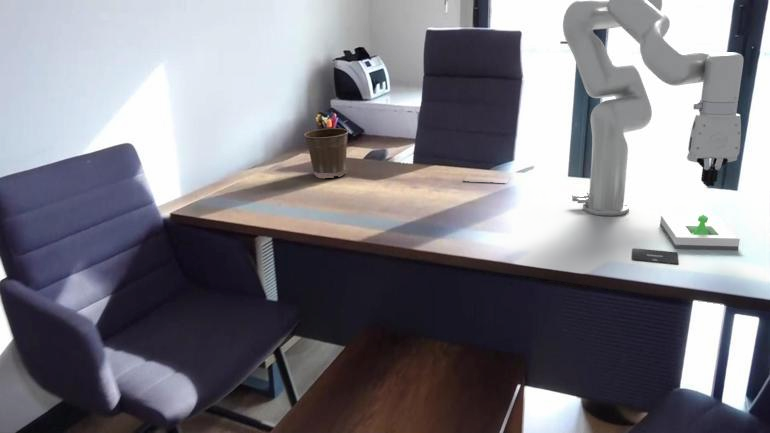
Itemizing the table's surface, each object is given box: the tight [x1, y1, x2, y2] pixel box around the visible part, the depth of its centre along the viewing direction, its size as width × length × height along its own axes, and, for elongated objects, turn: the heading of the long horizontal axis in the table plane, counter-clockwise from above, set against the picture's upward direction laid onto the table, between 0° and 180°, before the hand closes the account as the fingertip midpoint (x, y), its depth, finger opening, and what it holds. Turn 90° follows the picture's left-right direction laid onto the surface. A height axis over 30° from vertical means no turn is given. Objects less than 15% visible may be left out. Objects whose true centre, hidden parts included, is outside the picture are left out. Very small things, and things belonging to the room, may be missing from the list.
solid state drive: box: [631, 247, 680, 266], centre depth 144 cm, size 7×10×1 cm
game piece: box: [692, 214, 709, 235], centre depth 150 cm, size 4×4×6 cm
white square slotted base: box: [659, 214, 741, 251], centre depth 154 cm, size 14×16×3 cm
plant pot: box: [303, 127, 349, 173], centre depth 224 cm, size 16×16×16 cm
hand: (708, 184), depth 146 cm, fingers closed
